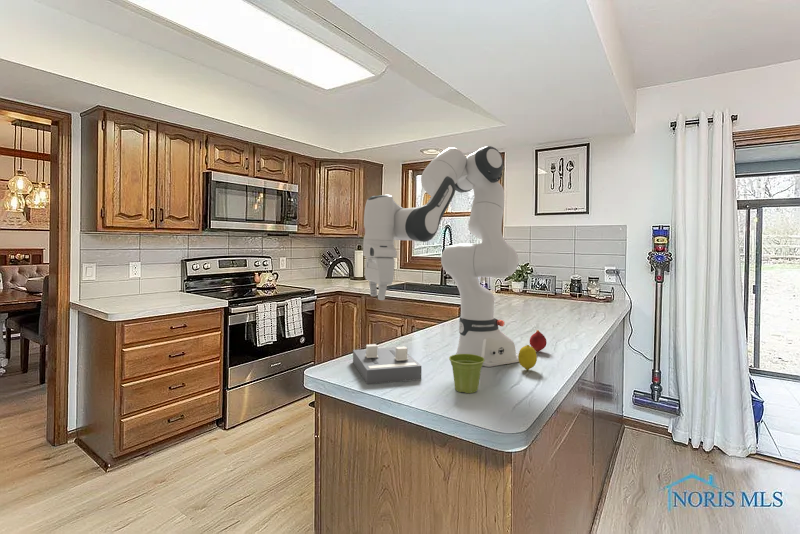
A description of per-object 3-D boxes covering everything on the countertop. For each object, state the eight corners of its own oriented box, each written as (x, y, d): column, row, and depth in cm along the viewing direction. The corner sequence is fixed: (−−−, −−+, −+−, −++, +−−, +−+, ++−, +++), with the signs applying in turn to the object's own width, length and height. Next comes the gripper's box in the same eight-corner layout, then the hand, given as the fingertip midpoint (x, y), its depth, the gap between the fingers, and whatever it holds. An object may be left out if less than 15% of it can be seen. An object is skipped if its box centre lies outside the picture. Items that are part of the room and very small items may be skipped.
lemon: (537, 373, 131) (538, 347, 130) (518, 372, 132) (519, 346, 131) (535, 368, 136) (536, 343, 136) (517, 366, 137) (518, 342, 137)
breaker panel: (399, 358, 145) (399, 346, 145) (421, 379, 124) (421, 365, 124) (352, 362, 141) (353, 349, 140) (367, 384, 120) (367, 369, 119)
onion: (547, 351, 157) (548, 329, 156) (543, 354, 152) (544, 332, 151) (531, 348, 160) (532, 327, 159) (527, 352, 155) (528, 330, 155)
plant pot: (460, 398, 110) (461, 365, 110) (442, 386, 119) (443, 355, 118) (490, 393, 114) (491, 361, 113) (471, 382, 122) (471, 352, 122)
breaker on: (405, 357, 131) (405, 346, 131) (408, 360, 129) (408, 348, 128) (394, 358, 130) (394, 346, 130) (396, 360, 128) (397, 349, 127)
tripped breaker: (376, 354, 134) (376, 343, 134) (378, 357, 131) (378, 346, 131) (364, 355, 133) (365, 344, 133) (366, 358, 130) (367, 346, 130)
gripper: (360, 249, 134) (359, 294, 134) (375, 250, 114) (374, 302, 115) (380, 250, 136) (379, 294, 136) (398, 251, 116) (397, 302, 117)
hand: (377, 297), depth 125 cm, fingers open, 8 cm apart
